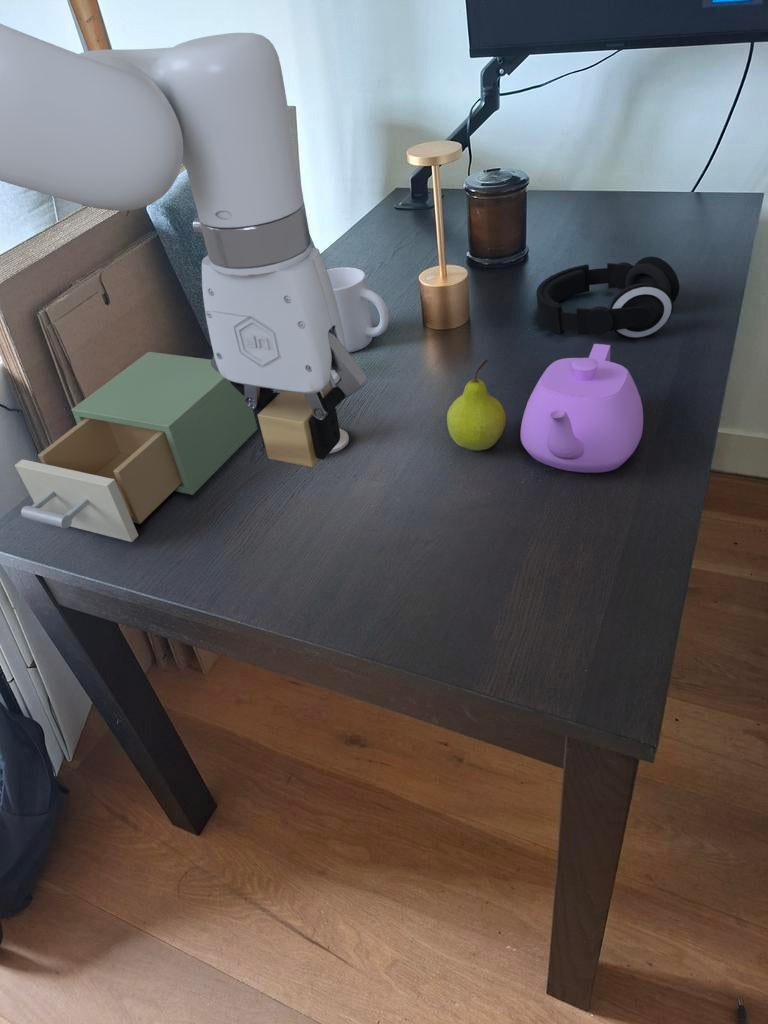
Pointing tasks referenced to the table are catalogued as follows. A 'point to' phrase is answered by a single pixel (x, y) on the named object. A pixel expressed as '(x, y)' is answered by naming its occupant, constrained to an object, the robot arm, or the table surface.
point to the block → (288, 429)
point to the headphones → (631, 309)
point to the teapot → (583, 414)
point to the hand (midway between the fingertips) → (301, 443)
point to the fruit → (476, 417)
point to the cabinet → (177, 411)
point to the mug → (356, 307)
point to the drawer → (100, 478)
